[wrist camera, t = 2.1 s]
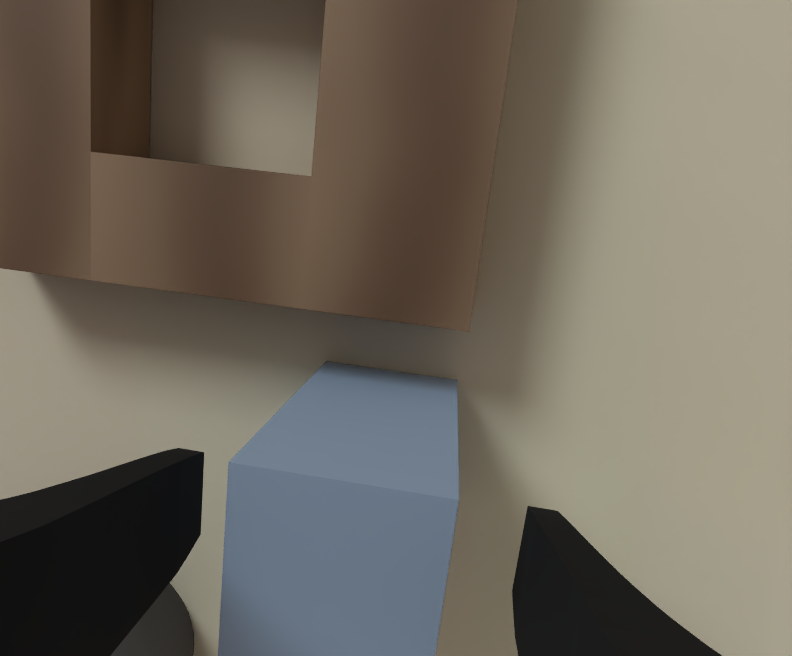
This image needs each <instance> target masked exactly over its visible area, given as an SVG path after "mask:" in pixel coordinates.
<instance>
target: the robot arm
mask: <svg viewBox="0 0 792 656" xmlns="http://www.w3.org/2000/svg"><path fill="white" fill-rule="evenodd" d="M203 466H204V452H199V451H193V450H187V449H180V448H177V449H172V450H167V451H163V452H160V453H156V454H153V455H150V456H147V457H143V458H140V459H137V460H134V461H131V462H128V463H125V464H122V465H119V466H116V467H113V468H110V469H107V470H104V471H101V472H98V473H95V474H92V475H88V476H85V477H82V478H78V479H75V480H72V481H68V482H65V483H62V484H58V485H55V486H52V487H48V488H45V489H41V490H38V491H34V492H31V493H27V494H23V495H19V496H15V497H11V498H7V499H2V500H0V656H111V654H112V653H113V652H114V651H115V650H116V648H117V647H118V646H119V645H120V643H121V642H122V641H123V640H124V638H125V637H126V636H127V635H128V634H129V632H130V631H131V630H132V629H133V627H134V626H135V625H136V624H137V622H138V621H139V620H140V619H141V618H142V616H143V615H144V614H145V613H146V611H147V610H148V609H149V608H150V607H151V605H152V604H153V603H154V602H155V600H156V599H157V598H158V597H159V595H160V594H161V593H162V592H163V590H164V589H165V588H166V587H167V585H168V584H169V583H170V581H171V580H172V579H173V578H174V576H175V575H176V574H177V572H178V571H179V569H180V567H181V566H182V564H183V563H184V561H185V560H186V558H187V556H188V555H189V553H190V551H191V550H192V548H193V546H194V544H195V543H196V541H197V539H198V538H199V536H200V534H201V511H202V489H203ZM512 594H513V612H514V627H515V639H516V645H517V650H518V656H721V655H720V654H719V653H717V652H716V651H714V650H713V649H712V648H710V647H709V646H707V645H706V644H705V643H703V642H702V641H700V640H699V639H698V638H697V637H695V636H694V635H693V634H691V633H690V632H689V631H687V630H686V629H685V628H683V627H682V626H681V625H680V624H678V623H677V622H676V621H674V620H673V619H672V618H670V617H669V616H668V615H667V614H666V613H664V612H663V611H662V610H661V609H659V608H658V607H657V606H656V605H655V604H653V603H652V602H651V601H650V600H649V599H648V598H647V597H646V596H644V595H643V594H642V593H641V592H640V591H639V590H638V589H637V588H635V587H634V586H633V585H632V584H631V583H630V582H629V581H628V580H627V579H625V578H624V577H623V576H622V575H621V574H620V573H619V572H618V571H617V570H616V569H615V568H614V567H613V566H612V565H611V564H610V563H609V562H608V561H607V560H606V559H605V558H604V557H603V556H602V555H601V554H600V553H599V552H598V551H597V550H596V549H595V548H594V547H593V546H592V545H591V544H590V543H589V542H588V541H587V540H586V539H585V538H584V537H583V536H582V535H581V534H580V533H579V532H578V531H577V530H576V529H575V528H574V527H573V526H572V525H571V524H570V523H569V522H568V521H567V520H566V519H565V518H564V517H563V516H562V515H561V514H560V513H559V512H558V511H555V510H549V509H542V508H536V507H530V506H528V508H527V513H526V519H525V524H524V530H523V535H522V541H521V546H520V551H519V557H518V562H517V568H516V573H515V579H514V584H513V590H512Z"/></svg>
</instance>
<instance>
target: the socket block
mask: <svg viewBox="0 0 792 656" xmlns="http://www.w3.org/2000/svg"><path fill="white" fill-rule="evenodd" d="M517 4H518V0H326V2H325V15H324V27H323V40H322V52H321V65H320V77H319V89H318V102H317V114H316V127H315V139H314V152H313V164H312V177H311V176H302V175H293V174H284V173H276V172H267V171H258V170H249V169H240V168H231V167H222V166H213V165H204V164H195V163H187V162H178V161H169V160H160V159H151V158H149V142H150V90H151V39H152V0H0V268H3V269H11V270H18V271H26V272H33V273H40V274H48V275H55V276H62V277H70V278H77V279H85V280H92V281H99V282H107V283H114V284H122V285H129V286H136V287H144V288H151V289H158V290H166V291H173V292H181V293H188V294H195V295H203V296H210V297H218V298H225V299H232V300H240V301H247V302H254V303H262V304H269V305H277V306H284V307H291V308H299V309H306V310H314V311H321V312H328V313H336V314H343V315H350V316H358V317H365V318H373V319H380V320H387V321H395V322H402V323H410V324H417V325H424V326H432V327H439V328H446V329H454V330H461V331H469V329H470V322H471V315H472V309H473V302H474V295H475V288H476V281H477V275H478V268H479V261H480V254H481V248H482V241H483V234H484V227H485V220H486V214H487V207H488V200H489V193H490V187H491V180H492V173H493V166H494V159H495V153H496V146H497V139H498V132H499V126H500V119H501V112H502V105H503V98H504V92H505V85H506V78H507V71H508V65H509V58H510V51H511V44H512V37H513V31H514V24H515V17H516V10H517Z"/></svg>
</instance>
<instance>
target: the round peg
mask: <svg viewBox="0 0 792 656" xmlns="http://www.w3.org/2000/svg"><path fill="white" fill-rule="evenodd" d="M193 650H194V633H193V627H192V623H191V620H190V616H189V613H188V611H187V609H186V607H185V605H184V603H183V601H182V600H181V598H180V596H179V595H178V593H177V592H176V591H175V590H174V588H173V587H172V586H171V584H170V583H169V584H168V585H167V587H166V588H165V589H164V590H163V592H162V593H161V594H160V595H159V597H158V598H157V599H156V600H155V602H154V603H153V604H152V605H151V607H150V608H149V609H148V610H147V611H146V613H145V614H144V615H143V616H142V618H141V619H140V620H139V621H138V622H137V624H136V625H135V626H134V627H133V629H132V630H131V631H130V632H129V634H128V635H127V636H126V637H125V638H124V640H123V641H122V642H121V643H120V645H119V646H118V647H117V648H116V650H115V651H114V652H113V653H112V654H111V656H193Z"/></svg>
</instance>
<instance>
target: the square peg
mask: <svg viewBox="0 0 792 656" xmlns="http://www.w3.org/2000/svg"><path fill="white" fill-rule="evenodd" d="M458 504H459V461H458V394H457V380H453V379H446V378H439V377H432V376H425V375H418V374H411V373H404V372H397V371H390V370H383V369H376V368H369V367H362V366H355V365H348V364H341V363H335V362H328V361H326V362H325V363H324V364H323V365H322V366H321V367H320V369H319V370H318V371H317V372H316V373H315V374H314V375H313V376H312V377H311V378H310V379H309V380H308V381H307V382H306V383H305V384H304V385H303V386H302V387H301V388H300V389H299V390H298V391H297V392H296V393H295V394H294V395H293V396H292V397H291V398H290V399H289V400H288V402H287V403H286V404H285V405H284V406H283V407H282V408H281V409H280V410H279V411H278V412H277V413H276V414H275V415H274V416H273V417H272V418H271V419H270V420H269V421H268V422H267V423H266V424H265V425H264V426H263V427H262V428H261V429H260V430H259V431H258V432H257V433H256V435H255V436H254V437H253V438H252V439H251V440H250V441H249V442H248V443H247V444H246V445H245V446H244V447H243V448H242V449H241V450H240V451H239V452H238V453H237V454H236V455H235V456H234V457H233V458H232V459H231V460H230V461H229V466H228V484H227V502H226V520H225V538H224V556H223V574H222V592H221V610H220V628H219V646H218V656H435V653H436V647H437V640H438V634H439V627H440V621H441V614H442V608H443V601H444V595H445V588H446V582H447V575H448V569H449V562H450V556H451V549H452V543H453V536H454V530H455V523H456V517H457V510H458Z"/></svg>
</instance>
